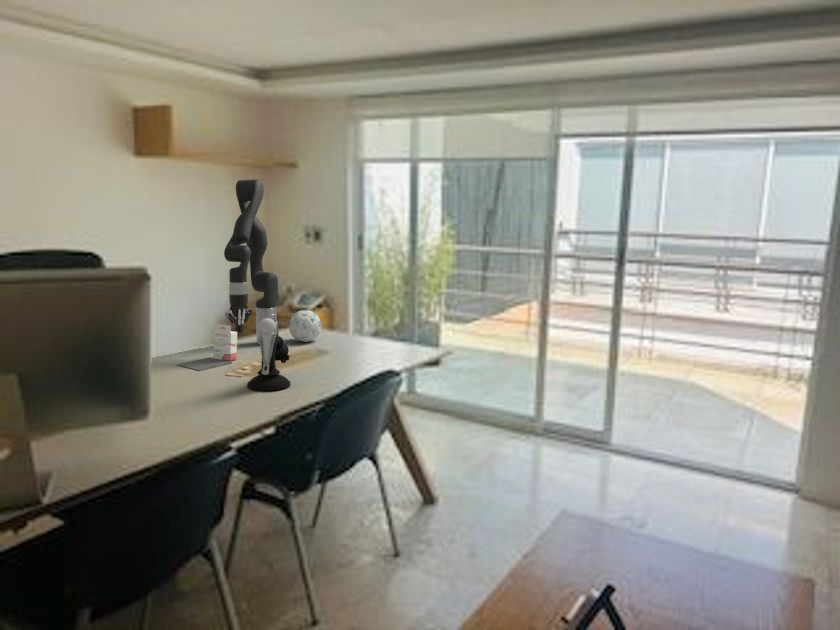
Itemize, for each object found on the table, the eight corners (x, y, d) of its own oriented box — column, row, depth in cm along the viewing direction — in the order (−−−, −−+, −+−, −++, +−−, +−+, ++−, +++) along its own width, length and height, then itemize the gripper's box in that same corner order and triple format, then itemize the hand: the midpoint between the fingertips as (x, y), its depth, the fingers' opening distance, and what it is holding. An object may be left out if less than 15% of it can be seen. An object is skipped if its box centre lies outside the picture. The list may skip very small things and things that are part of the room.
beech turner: (251, 363, 269) (251, 360, 269) (267, 364, 268) (267, 362, 267) (225, 375, 250) (225, 372, 250) (241, 377, 249) (241, 374, 248)
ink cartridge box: (237, 359, 275) (238, 324, 273) (230, 361, 270) (231, 325, 269) (219, 356, 278) (220, 322, 276) (212, 358, 273) (213, 323, 271)
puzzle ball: (300, 346, 302) (299, 314, 299) (283, 340, 313) (282, 309, 310) (327, 342, 312) (327, 310, 309) (310, 336, 323) (309, 306, 320)
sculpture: (240, 390, 232) (238, 320, 227) (265, 373, 255) (264, 309, 250) (282, 393, 230) (281, 323, 225) (303, 375, 253) (302, 311, 248)
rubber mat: (210, 357, 276) (210, 356, 276) (232, 363, 269) (232, 362, 269) (177, 365, 263) (177, 364, 263) (199, 371, 256) (199, 370, 256)
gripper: (244, 290, 283) (245, 329, 286) (219, 293, 273) (220, 334, 275) (256, 292, 279) (257, 332, 282) (231, 295, 268) (232, 336, 271)
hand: (239, 333), depth 279 cm, fingers closed
